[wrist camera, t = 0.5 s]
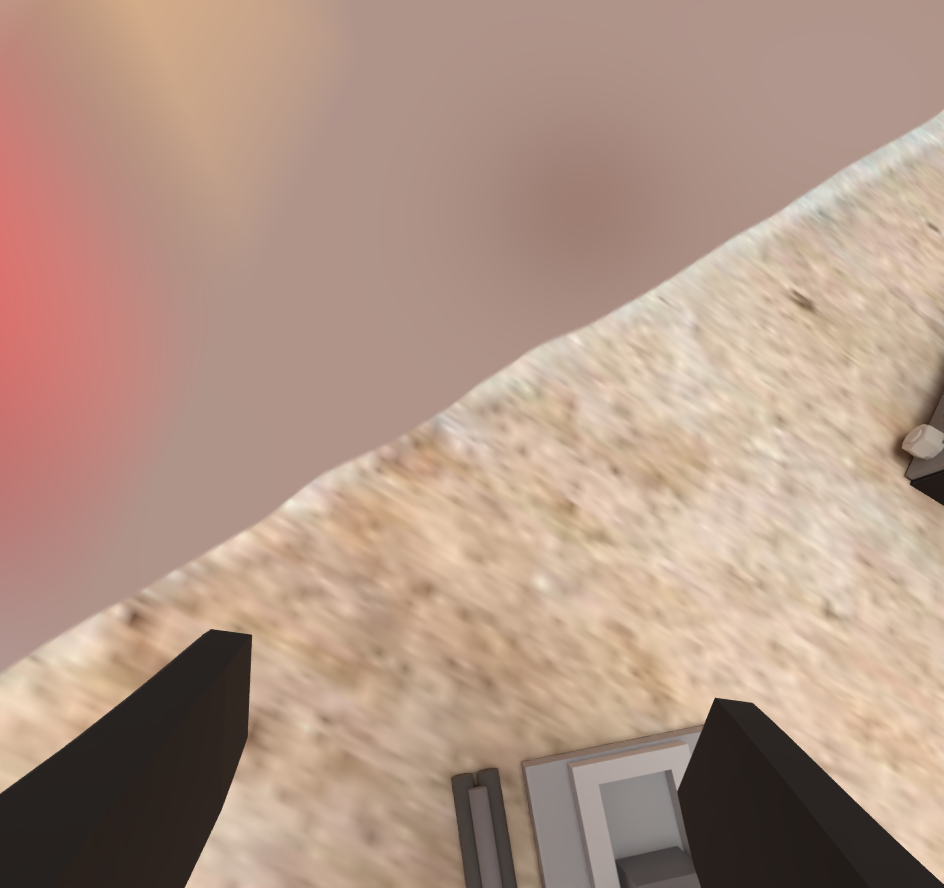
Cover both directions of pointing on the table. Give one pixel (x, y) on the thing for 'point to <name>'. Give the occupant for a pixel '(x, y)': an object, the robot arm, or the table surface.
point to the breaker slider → (658, 870)
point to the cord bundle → (483, 830)
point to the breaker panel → (607, 806)
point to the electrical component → (928, 455)
